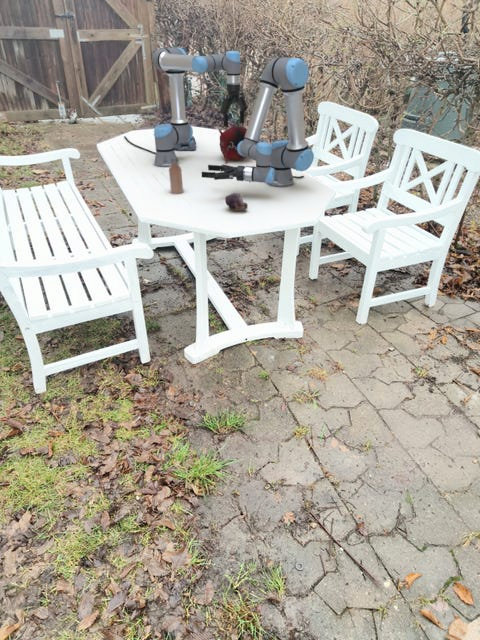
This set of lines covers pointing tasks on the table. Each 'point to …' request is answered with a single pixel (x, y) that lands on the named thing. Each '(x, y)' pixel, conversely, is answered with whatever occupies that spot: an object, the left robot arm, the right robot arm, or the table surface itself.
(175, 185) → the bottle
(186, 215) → the table surface
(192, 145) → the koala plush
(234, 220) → the table surface
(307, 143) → the right robot arm
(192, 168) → the table surface
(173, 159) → the cap
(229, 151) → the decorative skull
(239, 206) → the rock
